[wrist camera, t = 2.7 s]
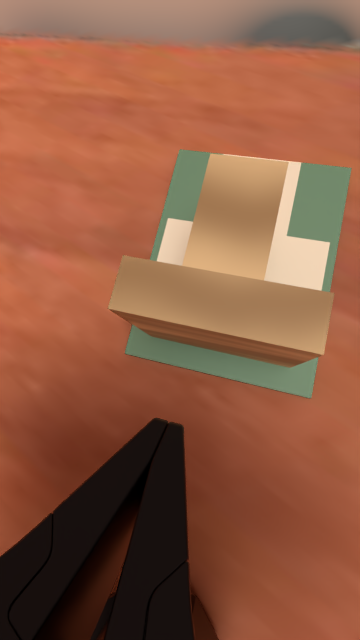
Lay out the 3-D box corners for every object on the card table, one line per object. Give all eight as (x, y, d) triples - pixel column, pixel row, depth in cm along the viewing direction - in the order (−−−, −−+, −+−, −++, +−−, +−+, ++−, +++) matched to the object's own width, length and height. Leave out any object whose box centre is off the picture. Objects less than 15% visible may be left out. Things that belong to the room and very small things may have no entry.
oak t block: (290, 368, 21) (323, 355, 13) (151, 336, 22) (107, 308, 15) (312, 247, 22) (355, 169, 14) (180, 226, 24) (153, 147, 16)
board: (309, 398, 21) (311, 398, 20) (126, 354, 23) (124, 353, 22) (349, 172, 23) (351, 167, 23) (180, 153, 25) (179, 149, 25)
